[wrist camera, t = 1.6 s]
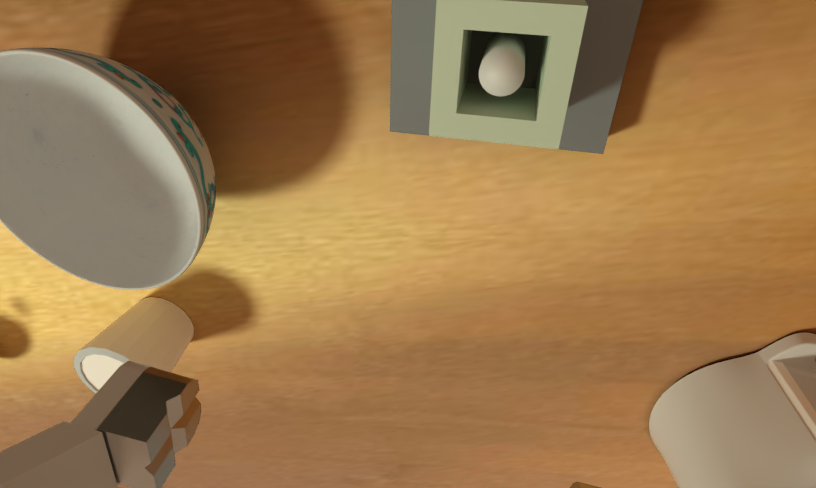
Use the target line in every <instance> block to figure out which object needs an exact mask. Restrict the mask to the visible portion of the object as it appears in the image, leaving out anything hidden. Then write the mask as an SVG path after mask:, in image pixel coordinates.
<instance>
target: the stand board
mask: <svg viewBox="0 0 816 488" xmlns="http://www.w3.org/2000/svg"><path fill="white" fill-rule="evenodd" d="M436 1H437V0H392V23H391V98H390V132H400V133H409V134H419V135H428V136H429V123H430V106H431V88H432V71H433V53H434V36H435V19H436ZM585 1H586V3H587V5H588V10H587V15H586V20H585V24H584V29H583V34H582V39H581V44H580V48H579V53H578V58H577V63H576V68H575V72H574V77H573V82H572V87H571V92H570V96H569V101H568V106H567V111H566V116H565V120H564V125H563V130H562V135H561V140H560V144H559V149H561V150H571V151H580V152H590V153H599V154H603V153H604V149H605V145H606V141H607V137H608V134H609V130H610V126H611V122H612V118H613V114H614V111H615V107H616V103H617V99H618V95H619V92H620V88H621V84H622V80H623V76H624V72H625V69H626V65H627V61H628V57H629V53H630V49H631V46H632V42H633V38H634V34H635V30H636V26H637V23H638V19H639V15H640V11H641V7H642V3H643V0H585ZM543 41H544V35H530V34H517V33H503V32H490V31H476V30H472V37H471V47H470V58H469V68H468V79H467V83H477V84H481V85H482V87H483V88H484V89H485V90H486V91H487V92H488V93H490V94H492V95H494V96H507V95H510V94H512V93H514V92H515V91H516V90H517V89H518V88H519V87H521V88H533V89H535V88H536V82H537V76H538V70H539V64H540V58H541V52H542V46H543Z"/></svg>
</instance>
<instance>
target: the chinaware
mask: <svg viewBox="0 0 816 488" xmlns="http://www.w3.org/2000/svg"><path fill="white" fill-rule="evenodd" d="M215 200H216V179H215V171H214V166H213V162H212V158H211V155H210V152H209V149H208V146H207V144H206V142H205V139H204V137H203V135H202V133H201V132H200V130H199V128H198V126H197V125H196V123H195V122H194V120H193V119H192V118H191V116H190V115H189V114H188V112H187V111H186V110H185V109H184V107H183V106H182V105H181V104H180V103H179V102H178V101H177V100H176V99H175V98H174V97H173V96H172V95H171V94H170V93H168V92H167V91H166V90H165V89H164V88H162V87H161V86H160V85H159V84H157V83H156V82H154V81H153V80H151V79H150V78H148V77H147V76H145V75H143V74H142V73H140V72H138V71H136V70H134V69H132V68H130V67H128V66H126V65H124V64H121V63H119V62H116V61H114V60H111V59H108V58H105V57H101V56H98V55H94V54H90V53H85V52H80V51H74V50H67V49H57V48H19V49H10V50H4V51H0V221H1V222H2V223H3V224H4V225H5V226H6V227H7V228H8V229H9V230H10V231H11V232H12V233H13V234H14V235H15V236H16V237H17V238H18V239H19V240H20V241H22V242H23V243H24V244H25V245H26V246H28V247H29V248H30V249H31V250H33V251H34V252H35V253H37V254H38V255H39V256H41V257H42V258H44V259H45V260H47V261H48V262H50V263H52V264H53V265H55V266H57V267H58V268H60V269H62V270H64V271H66V272H68V273H70V274H72V275H74V276H76V277H78V278H81V279H83V280H86V281H89V282H91V283H94V284H98V285H101V286H105V287H110V288H115V289H123V290H144V289H151V288H155V287H159V286H162V285H164V284H167V283H169V282H171V281H173V280H174V279H176V278H177V277H179V276H180V275H181V274H182V273H183V272H184V271H185V270H186V269H187V268H188V267H189V266H190V265H191V263H192V262H193V260H194V259H195V257H196V256H197V254H198V252H199V250H200V248H201V246H202V244H203V242H204V240H205V238H206V236H207V233H208V230H209V228H210V224H211V221H212V217H213V213H214V208H215Z"/></svg>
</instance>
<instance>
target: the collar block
mask: <svg viewBox="0 0 816 488" xmlns="http://www.w3.org/2000/svg"><path fill="white" fill-rule="evenodd" d="M587 10H588V5H587V3H586V1H585V0H437V1H436V19H435V36H434V53H433V71H432V88H431V106H430V123H429V136H437V137H447V138H456V139H466V140H475V141H485V142H494V143H504V144H513V145H523V146H532V147H542V148H551V149H559V144H560V140H561V135H562V130H563V125H564V120H565V116H566V111H567V106H568V101H569V96H570V92H571V87H572V82H573V77H574V72H575V68H576V63H577V58H578V53H579V48H580V44H581V39H582V34H583V29H584V24H585V20H586V15H587ZM472 30H476V31H490V32H503V33H517V34H530V35H544V41H543V46H542V52H541V58H540V64H539V70H538V76H537V82H536V88H535V89H533V88H521V87H519V88H518V89H517V90H516V91H515V92H514V93H512V94H510V95H507V96H494V95H492V94H490V93H488V92H487V91H486V90H485V89H484V88H483V87H482V85H481V84H477V83H467V79H468V68H469V58H470V47H471V37H472Z"/></svg>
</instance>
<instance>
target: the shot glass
mask: <svg viewBox="0 0 816 488" xmlns="http://www.w3.org/2000/svg"><path fill="white" fill-rule="evenodd" d="M193 334H194V327H193V324H192V322H191V319H190V318H189V317H188V316H187V314H186V313H185V312H184V311H183V310H182V309H181V308H179V307H178V306H176V305H175V304H174V303H172V302H169V301H167V300H164V299H162V298H155V297H148V298H145V299H142V300H140V301H139V302H138V303H137V304H135V305H134V306H133V307H132V308H130V309H129V310H128V311H127V312H126V313H124V314H123V315H122V316H121V317H119V318H118V319H117V320H116V321H115V322H113V323H112V324H111V325H110V326H108V327H107V328H106V329H105V330H104V331H102V332H101V333H100V334H99V335H98V336H96V337H95V338H94V339H93V340H91V341H90V342H89V343H88V344H87V345H85V346H84V347H83V348H82V349H80V350H79V352H78V353H77V354H76V356H75V357H74V366H75V370H76V372H77V373H78V375H79V377H80V379H81V380H82V381H83V382H84V383H85V384H86V385H87V386H88V387H89V388H90V389H91V390H92V391H93V392H94V393H97V392H98V391H99V389H100V388H101V387H102V386H103V385H104V384H105V383H106V381H107V380H108V379H109V378H110V377H111V376H112V375H113V373H114V372H115V371H116V370H117V369H118V368H119V367H120V366H121V365H123V364H124V363H126V362H127V361H132V362H136V363H140V364H144V365H147V366H151V367H154V368H157V369H161V370H164V371H168V372H172V370H173V368H174V367H175V365H176V364H177V362H178V360H179V359H180V357H181V356H182V354H183V352H184V351H185V349H186V348H187V346H188V344H189V343H190V341H191V340H192V338H193Z"/></svg>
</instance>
